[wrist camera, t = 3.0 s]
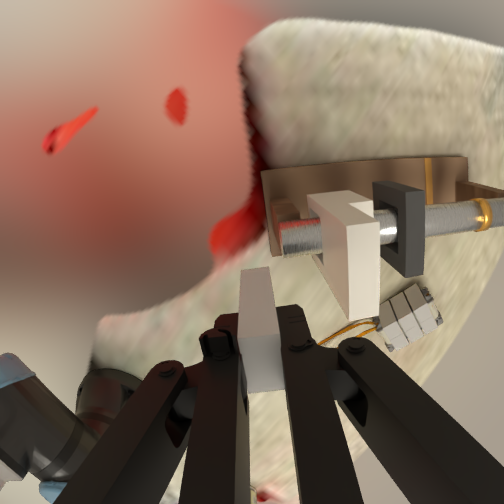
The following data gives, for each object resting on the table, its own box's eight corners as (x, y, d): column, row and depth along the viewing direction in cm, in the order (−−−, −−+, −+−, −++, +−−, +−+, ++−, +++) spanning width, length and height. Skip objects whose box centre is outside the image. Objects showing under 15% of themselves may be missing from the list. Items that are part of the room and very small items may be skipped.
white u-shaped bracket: (312, 257, 30) (349, 321, 19) (306, 194, 28) (346, 225, 17) (352, 251, 30) (406, 309, 19) (348, 190, 28) (409, 218, 17)
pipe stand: (271, 252, 40) (279, 288, 30) (260, 170, 36) (266, 178, 26) (461, 226, 39) (507, 248, 29) (461, 156, 36) (511, 163, 26)
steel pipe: (281, 252, 29) (285, 265, 25) (276, 216, 28) (280, 225, 24) (507, 221, 28) (525, 228, 25) (508, 192, 27) (526, 198, 24)
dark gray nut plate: (375, 251, 31) (405, 278, 24) (372, 181, 29) (405, 192, 22) (390, 249, 31) (423, 274, 24) (388, 180, 29) (424, 190, 22)
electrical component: (300, 374, 50) (299, 397, 45) (279, 352, 48) (277, 375, 44) (434, 305, 41) (446, 325, 37) (421, 276, 40) (433, 295, 35)
